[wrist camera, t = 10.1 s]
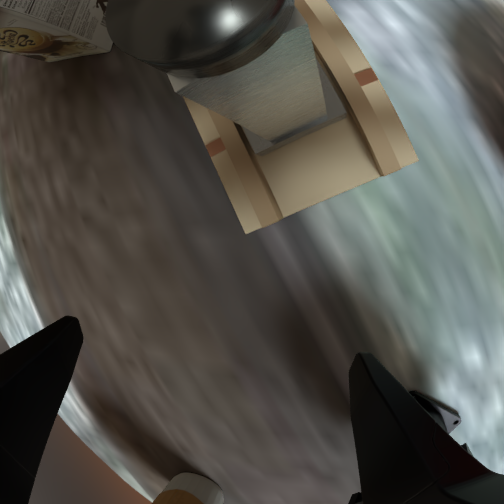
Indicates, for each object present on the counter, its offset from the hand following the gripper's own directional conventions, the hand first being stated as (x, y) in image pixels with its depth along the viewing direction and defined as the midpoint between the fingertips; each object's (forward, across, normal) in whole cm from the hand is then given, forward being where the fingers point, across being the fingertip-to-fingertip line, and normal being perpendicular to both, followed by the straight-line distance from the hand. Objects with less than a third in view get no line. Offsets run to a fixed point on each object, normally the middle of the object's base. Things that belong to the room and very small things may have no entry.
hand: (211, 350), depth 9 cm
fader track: (+14, -1, -9) cm, 17 cm away
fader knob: (+11, -2, -7) cm, 13 cm away
